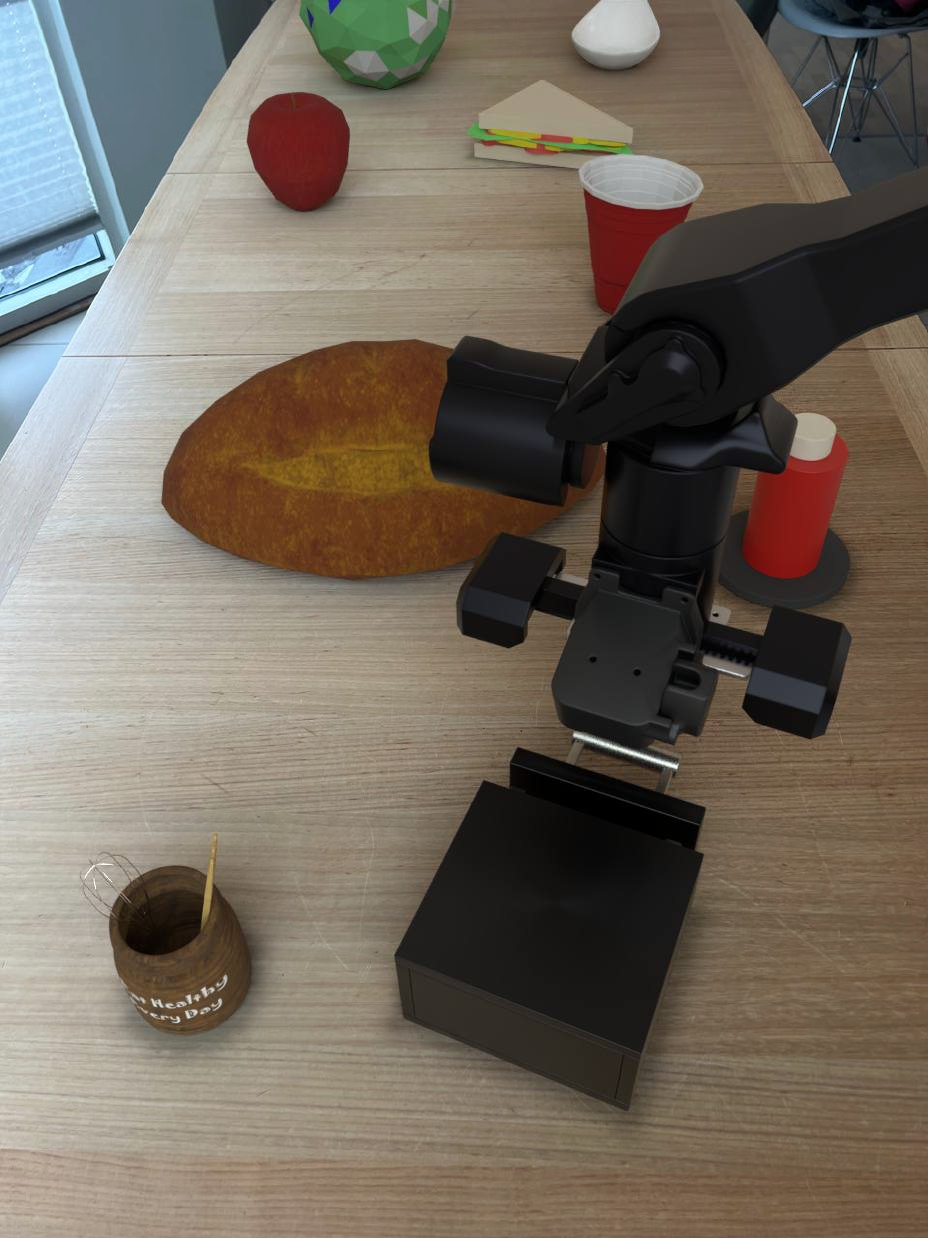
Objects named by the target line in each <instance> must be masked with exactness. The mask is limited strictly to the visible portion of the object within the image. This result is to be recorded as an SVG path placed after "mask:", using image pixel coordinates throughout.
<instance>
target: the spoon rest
mask: <svg viewBox="0 0 928 1238" xmlns="http://www.w3.org/2000/svg"><path fill="white" fill-rule="evenodd" d="M572 29H573V30H572V32H571V35H570V37H571V42H572V44H573V46H574V49H575V50H576V51H577V53H578V54H579V56H581V57H582V59H584V61H586V62H588V63H589V64H591V65H593V66H595V67H597V68H598V69H602V70H608V71H610V70H611V71H619V70H621V71H622V70H625V69H629V68H632V67H633V66H634V67H635V66H636V65H638V64H640V63H641V62H643V61H644V60H646V59H647V58H648V57H649V56H650V55H651V53H653V52H654V50H655V48H656V47H657V45H658V43H659V41H660V38H661V31H660V26H659V23H658V21H657V18H656V16H655V14H654V12H653V10H652V8H651V5H650V3H649V1H648V0H599V1H598V2H597V3H596V4H595V5H594V6H593V7H592V8H591V9H590V10H589V11H588V12H587V13H586V14H585V15H584V16H583V17H582V18H581V19H580V21H578V23H577V24H576V25H575V26H574V27H573V28H572Z"/></svg>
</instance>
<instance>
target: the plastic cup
mask: <svg viewBox="0 0 928 1238" xmlns="http://www.w3.org/2000/svg"><path fill="white" fill-rule="evenodd" d="M577 171H578V177H579V182H580V186H581V187H582V189H583V197H584V208H585V211H586V219H587V231H588V233H587V234H588V241H589V242H588V244H589V256H590V267H591V270H592V275H593V287H594V294H595V295H594V296H595V299H596V302H597V306H598V307H600V308H601V310H603V311H604V312H607V313H609V314H611V315H613V314H614V313H615V311H616V309H617V307H618V305H619V303H620V302H621V300H622V298H623V296H624V294H625V292H626V290H627V288H628V287H629V285H630V283H631V281H632V279H633V277H634V275H635V273H636V272H637V270H638V268H639V266H640V264H641V262H642V260H643V258H644V257H645V255H646V253H647V252H648V250H649V248H650V247H651V245H652V244H653V243H654V242H655V241H656V240H657V239H658V238H659V237H660V236H661V235H662V234H664V233H666V232H667V231H669V230H670V229H672V228H674V227H675V226H677V225H678V224H681V223H684V222H686V219H687V217H688V215H689V212H690V210H691V208H692V206H693V204H694V202H696V201H697V200H698V198H699V196H700V195H701V193H702V191H703V190H704V188H705V186H704V184H703V181H702V179H701V177H700V176H699V175H698V174H697V173H696V172H694V171H693V170H691V169H690V168H688V167H687V166H684V165H682V164H681V163H678V162H674V161H671V160H669V159H665V158H660V157H655V156H651V155H647V154H634V155H631V154H617V155H608V156H600V157H598V158H595V159H593V160H590V161H587V162H585V163H584V165H583V166H582V167H581V168H580V169H577Z"/></svg>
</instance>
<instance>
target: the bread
mask: <svg viewBox="0 0 928 1238" xmlns="http://www.w3.org/2000/svg"><path fill="white" fill-rule="evenodd" d="M454 349H455V348H451V347H448V346H444V345H441V344H436V343H433V342H428V341H425V340H420V339H416V338H411V339H408V338H407V339H396V340H394V339H393V340H350V341H346V342H342V343H338V344H334V345H330V346H325V347H320V348H316V349H313V350H310V351H307V352H306V353H303V354H300V355H298V356H296V357H293V358H290V359H288V360H285V361H283V362H280V363H278V364H275V365H272V366H270V367H268V368H265V369H263V370H260V371H258V372H257V373H254V374H253V375H251V376H250V377H249V378H247V379H246V380H244V381H243V382H242V383H240V384H238V385H237V386H236V387H234V388H233V389H231V390H230V391H228V392H227V393H225V394H224V395H222V396H221V397H219V398H218V399H216V400H215V401H214V402H213V403H212V404H211V405H210V406H209V407H207V408H206V410H205V411H203V412H202V413H201V414H200V415H199V416H198V417H197V418H196V419H195V420H194V421H193V422H192V423H191V424H189V426H187V428H185V429H184V430H183V431H182V432H181V434H180V436H179V438H178V440H177V442H176V443H175V447H174V448H173V450H172V453H171V455H170V457H169V459H168V462H167V464H166V466H165V467H164V470H163V477H162V488H161V489H162V490H161V500H160V504H161V505H162V507H163V508H164V510H165V511H166V512H167V514H168V516H169V517H170V518H171V519H172V520H173V521H174V522H176V523H177V524H178V525H179V526H181V528H183V529H184V530H185V531H187V532H188V533H190V534H191V535H193V536H194V537H195V538H197V539H199V540H200V541H201V542H203V543H206V544H208V545H209V546H212V547H215V548H216V549H219V550H221V551H223V552H225V553H228V554H230V555H233V556H235V557H237V558H239V559H243V560H246V561H250V562H253V563H257V564H262V565H265V566H269V567H274V568H277V569H283V570H289V571H294V572H300V573H304V574H310V575H316V576H321V577H326V578H332V579H341V580H347V581H359V580H360V581H361V580H369V579H370V580H371V579H379V578H386V577H387V578H388V577H395V576H402V575H403V576H404V575H411V574H416V573H422V572H423V573H424V572H429V571H436V570H443V569H446V568H449V567H452V566H455V565H457V564H460V563H464V562H467V561H469V560H472V559H475V558H479V557H480V555H481V553H482V552H483V550H484V549H485V547H486V545H487V544H488V542H489V541H490V539H492V538H493V537H495V536H496V535H498V534H499V533H500V532H504V533H508V534H512V535H516V536H519V537H523V538H524V537H525V536H527V535H529V534H531V533H533V532H534V531H536V530H538V529H539V528H541V527H542V526H544V525H546V524H547V523H549V522H550V521H552V520H553V519H556V518H557V517H558V516H560V515H562V514H564V513H565V512H567V510H569V509H570V508H571V507H573V506H574V505H575V504H577V503H578V502H579V501H581V499H583V498H584V497H585V496H586V495H588V494H589V493H590V492H592V490H593V489H594V488H595V486H596V485H597V484H598V482H599V481H600V480H601V478H603V477H604V473H605V462H606V452H605V447H604V445H603V444H601V446H600V450H599V455H598V459H597V462H596V466H595V469H594V472H593V475H592V477H591V480H590V482H589V484H588V486H587V487H586V488H585V489H583V490H582V489H578V488H573V487H571V485H570V484H569V486H568V494H567V498H566V502H565V505H564V507H560V506H556V507H555V506H550V505H545V504H541V503H536V502H532V501H527V500H522V499H518V498H513V497H509V496H504V495H499V494H495V493H490V492H486V491H481V490H476V489H472V488H467V487H463V486H458V485H453V484H449V483H444V482H440V481H437V480H436V479H435V478H434V477H433V475H432V472H431V469H430V462H429V442H430V439H431V437H432V436H433V434H434V428H435V422H436V416H437V411H438V407H439V403H440V399H441V396H442V393H443V390H444V387H445V384H446V382H447V363H446V361H447V359H448V357H449V356H450V354H451V353H452V352H453V350H454Z"/></svg>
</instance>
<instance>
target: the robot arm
mask: <svg viewBox="0 0 928 1238" xmlns="http://www.w3.org/2000/svg"><path fill="white" fill-rule="evenodd" d="M927 312H928V164H927V165H924V166H922V167H919V168H916V169H914V170H912V171H909V172H906V173H904V174H902V175H901V174H900V175H899V176H896V177H894V178H892V179H889V180H886V181H884V182H882V183H878V184H876V185H873V186H872V187H868V188H867V189H863V190H862V191H859V192H856V193H854V194H851V195H847V196H843V197H842V196H841V197H838V198H833V199H829V200H825V201H820V202H813V203H812V202H806V203H803V202H794V203H793V202H787V203H786V202H766V203H765V202H764V203H760V204H755V205H751V206H747V207H742V208H738V209H733V210H729V211H725V212H720V213H717V214H711V215H708V216H703V217H699V218H695V219H690V220H687V221H684V223H681V224H678V225H677V226H675V227H674V228H672V229H670V230H669V231H667V232H666V233H664V234H662V235H661V236H660V237H659V238H658V239H657V240H656V241H655V242H654V243H653V244H652V245H651V247H650V248H649V250H648V252H647V253H646V255H645V257H644V258H643V260H642V262H641V264H640V266H639V268H638V270H637V272H636V273H635V275H634V277H633V279H632V281H631V283H630V285H629V287H628V288H627V290H626V292H625V294H624V296H623V298H622V300H621V302H620V303H619V305H618V307H617V309H616V311H615V313H614V314H611V316H610V317H609V318H607V319H606V320H605V322H603V323H602V324H601V325H599V326H598V327H597V328H596V329H595V331H594V333H593V335H592V337H591V339H590V340H589V342H588V344H587V346H586V348H585V350H584V351H583V353H582V355H581V357H580V359H577V358H571V357H566V356H559V355H554V354H549V353H543V352H537V351H533V350H528V349H523V348H522V349H521V348H515V347H511V346H506V345H504V344H501V343H499V342H496V341H494V340H492V339H487V338H482V337H476V336H472V335H464V336H463V337H461V339H460V340H459V342H458V343H457V345H456V346H455V347H454V348H453V349H454V350H453V352H452V353H451V354H450V356H449V357H448V359H447V361H446V363H447V382H446V384H445V387H444V390H443V393H442V396H441V399H440V403H439V407H438V411H437V416H436V422H435V428H434V434H433V436H432V437H431V439H430V442H429V462H430V469H431V472H432V475H433V477H434V478H435V479H436V480H437V481H440V482H444V483H449V484H453V485H458V486H463V487H467V488H472V489H476V490H481V491H486V492H490V493H495V494H499V495H504V496H509V497H513V498H518V499H522V500H527V501H532V502H536V503H541V504H545V505H550V506H555V507H556V506H560V507H564V505H565V502H566V498H567V494H568V486H569V484H570V485H571V487H573V488H578V489H582V490H583V489H585V488H586V487H587V486H588V484H589V482H590V480H591V477H592V475H593V472H594V469H595V466H596V462H597V459H598V455H599V450H600V446H601V444H602V445H603V444H606V452H605V454H606V462H605V473H604V475H603V483H602V484H603V485H602V495H601V505H600V506H601V508H600V517H599V529H598V541H597V548H596V549H595V552H594V553H593V555H592V557H591V562H590V563H591V564H590V565H591V566H590V570H589V573H588V579H587V578H584V577H581V576H577V575H573V574H569V573H565V572H563V570H564V569H565V566H566V565H567V564H566V563H567V549H566V548H563V547H561V546H556V545H553V544H549V543H546V542H541V541H537V540H534V539H529V538H526V537H524V536H523V537H519V536H516V535H512V534H508V533H504V532H500V533H499V534H498V535H496V536H495V537H493V538H492V539H490V541H489V542H488V544H487V545H486V547H485V549H484V550H483V552H482V553H481V555H480V556H479V557H477V560H476V561H475V563H474V564H473V566H472V567H471V569H470V570H469V572H468V574H467V576H466V577H465V578H464V580H463V582H462V584H461V585H460V587H459V591H458V594H457V598H456V601H455V612H456V613H455V615H456V626H457V628H458V629H459V631H460V633H461V635H462V636H465V637H468V638H472V639H474V640H478V641H481V642H485V643H489V644H491V645H495V646H498V647H502V648H505V649H509V650H510V649H511V648H514V647H516V646H518V645H521V644H523V643H524V642H525V640H526V639H527V638H528V635H529V634H528V632H529V621H530V619H531V617H532V616H533V614H534V612H535V611H536V612H539V613H542V614H546V615H549V616H553V617H556V618H560V619H563V620H567V621H570V623H569V624H568V626H567V629H566V631H565V639H566V642H565V645H564V647H563V649H562V652H561V654H560V658H559V660H558V663H557V666H556V668H555V670H554V673H553V676H552V679H551V681H550V689H551V695H552V698H553V704H554V707H555V711H556V716H557V719H558V720H559V722H560V723H561V724H562V725H563V726H564V727H566V728H567V729H569V730H572V731H574V730H575V731H578V732H586V733H589V734H592V735H595V736H598V737H601V738H604V739H608V740H611V741H614V742H617V743H619V744H620V745H622V746H625V747H628V748H632V749H642V748H646V747H648V746H650V745H651V744H652V745H653V744H654V742H655V741H657V742H660V743H664V744H668V745H670V746H674V747H675V745H676V743H677V740H678V737H679V736H682V735H683V734H684V735H689V736H692V737H695V738H698V737H701V736H702V734H703V730H704V727H705V725H706V721H707V718H708V715H709V712H710V709H711V706H712V704H713V700H714V697H715V693H716V690H717V686H718V683H719V676H720V675H723V676H726V677H729V678H733V679H737V680H740V681H744V682H747V681H748V682H747V686H746V689H745V692H744V697H743V700H742V705H741V709H742V710H743V711H744V712H745V713H746V714H747V716H748V717H749V718H750V719H751V721H753V722H754V723H755V724H757V725H760V726H762V727H763V726H764V727H767V728H770V729H773V730H777V731H780V732H783V733H786V734H789V735H794V736H797V737H800V738H802V739H806V740H810V741H811V740H814V739H816V738H818V737H822V736H825V735H826V732H827V729H828V727H829V724H830V721H831V718H832V715H833V713H834V709H835V706H836V702H837V699H838V696H839V691H840V687H841V683H842V680H843V677H844V671H845V668H846V664H847V660H848V656H849V652H850V648H851V643H852V640H853V637H852V635H851V633H850V631H849V630H848V628H847V626H846V625H845V623H844V622H841V621H837V620H835V619H829V618H826V617H822V616H818V615H815V614H812V613H807V612H803V611H800V610H797V609H789V608H785V607H781V606H778V605H773V607H771V610H770V614H769V617H768V620H767V623H766V626H765V628H764V629H765V630H764V632H763V635H762V634H759V633H755V632H753V631H752V632H751V631H748V630H745V629H741V628H737V627H733V626H730V625H729V621H730V619H731V615H732V610H731V609H730V608H728V607H726V606H722V605H718V604H714V601H715V596H716V591H717V586H718V583H719V581H718V577H719V572H720V567H721V562H722V558H723V553H724V548H725V543H726V538H727V533H728V528H729V523H730V518H731V516H732V513H733V508H734V502H735V498H736V493H737V488H738V484H739V477H740V473H741V469H743V470H749V471H755V472H758V471H759V472H764V473H769V474H774V475H778V474H781V473H783V472H784V471H785V469H786V467H787V463H788V460H789V456H790V452H791V448H792V444H793V441H794V437H795V433H796V429H797V425H798V420H797V418H796V416H795V415H796V414H794V413H792V412H791V410H789V408H788V407H786V405H784V404H783V403H781V402H779V401H778V400H777V399H776V398H775V397H774V395H773V394H774V393H775V392H778V391H780V390H782V389H784V388H786V387H787V386H789V385H790V384H792V383H793V382H794V381H795V380H797V379H798V378H800V377H801V376H802V375H804V374H805V373H806V372H808V371H809V370H810V369H811V368H813V367H814V366H815V365H817V364H818V363H819V362H821V361H822V360H823V359H825V358H826V357H828V356H829V355H830V354H831V353H833V352H834V351H836V350H837V349H838V348H840V347H841V346H843V345H845V344H846V343H848V342H850V341H853V340H854V339H856V338H858V337H860V336H862V335H864V334H866V333H869V332H871V331H873V330H874V329H877V328H881V327H884V326H887V325H889V324H893V323H896V322H899V321H902V320H906V319H908V318H911V317H914V316H918V315H921V314H923V313H924V314H925V313H927Z"/></svg>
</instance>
